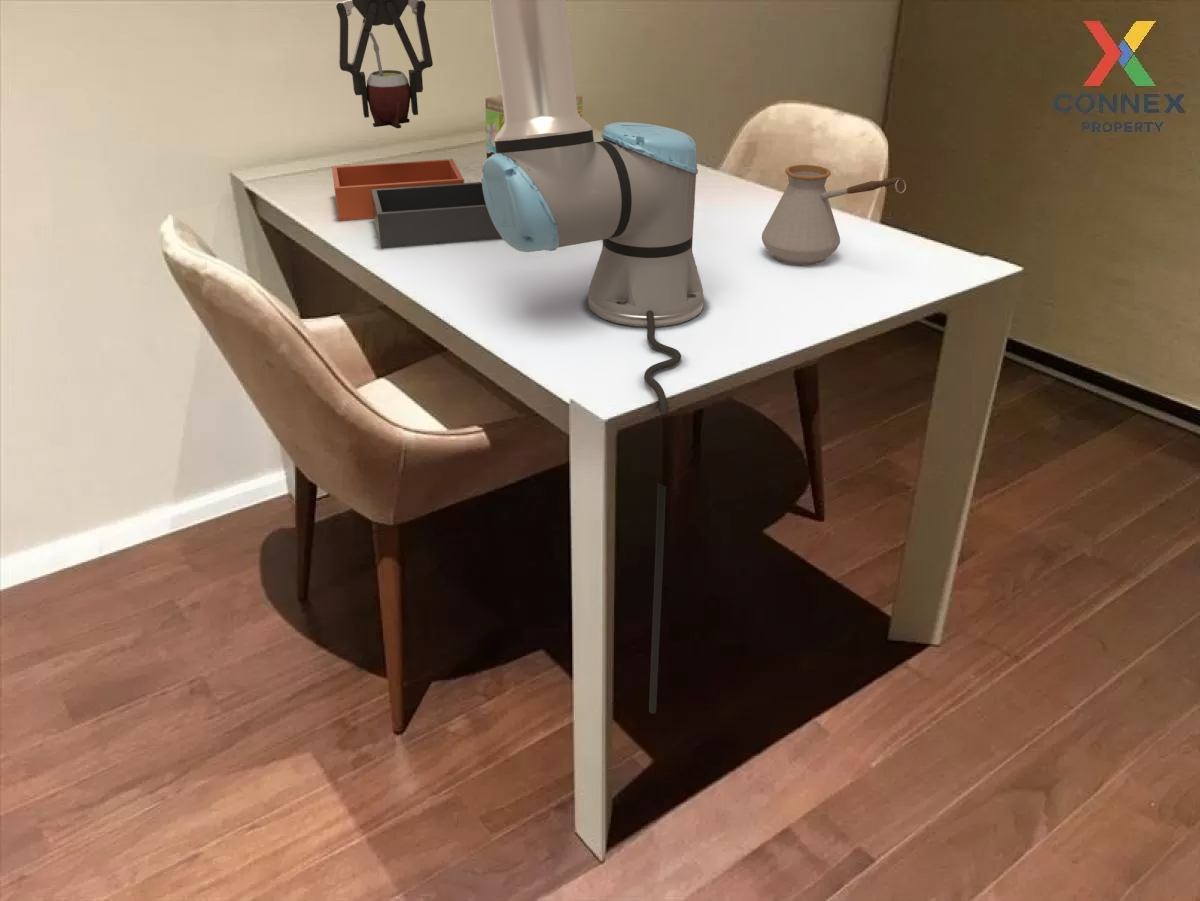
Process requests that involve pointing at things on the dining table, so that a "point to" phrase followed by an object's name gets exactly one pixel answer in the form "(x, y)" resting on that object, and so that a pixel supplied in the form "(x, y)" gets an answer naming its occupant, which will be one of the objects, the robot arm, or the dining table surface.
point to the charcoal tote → (432, 215)
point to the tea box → (503, 120)
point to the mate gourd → (388, 95)
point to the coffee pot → (808, 216)
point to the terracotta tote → (385, 182)
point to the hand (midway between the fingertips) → (390, 114)
